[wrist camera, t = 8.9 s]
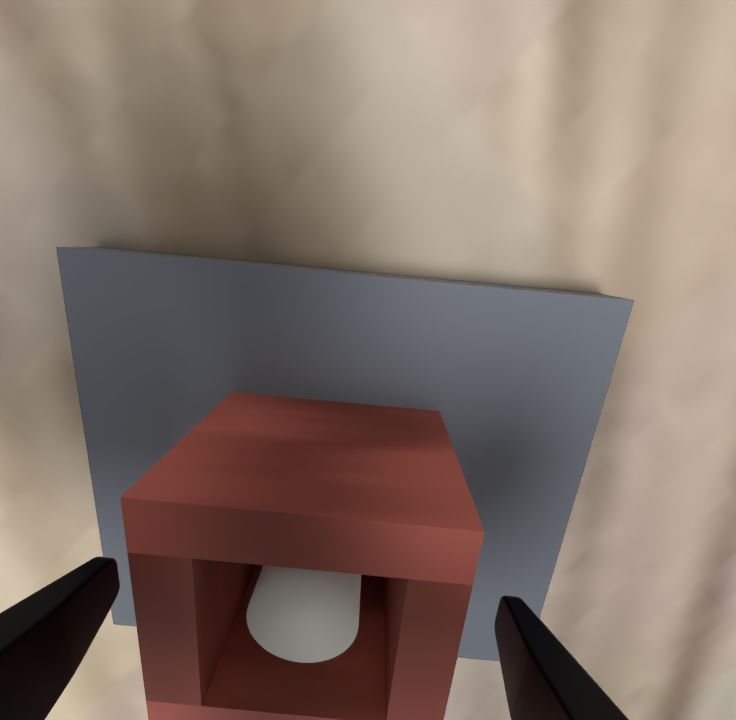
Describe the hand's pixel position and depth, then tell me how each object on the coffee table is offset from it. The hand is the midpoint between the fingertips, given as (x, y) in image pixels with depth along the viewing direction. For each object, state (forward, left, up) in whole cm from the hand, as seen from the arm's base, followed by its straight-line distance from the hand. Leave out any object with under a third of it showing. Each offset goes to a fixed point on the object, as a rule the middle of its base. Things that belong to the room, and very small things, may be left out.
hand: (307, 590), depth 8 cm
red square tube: (0, 0, -4) cm, 4 cm away
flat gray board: (0, 0, -5) cm, 5 cm away
